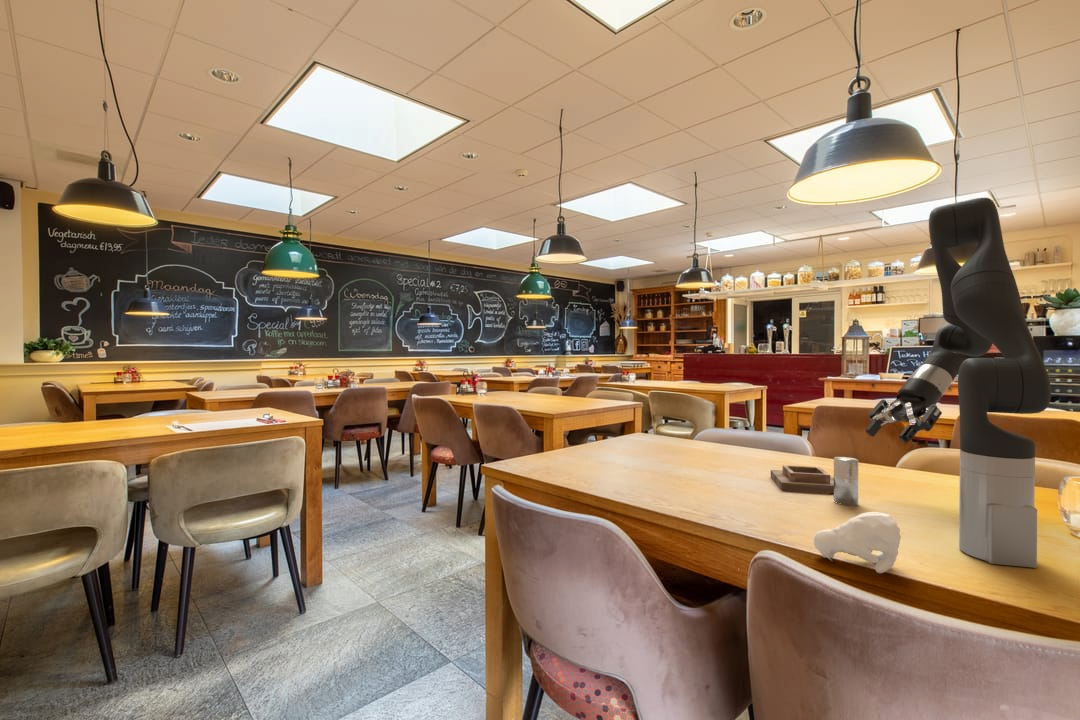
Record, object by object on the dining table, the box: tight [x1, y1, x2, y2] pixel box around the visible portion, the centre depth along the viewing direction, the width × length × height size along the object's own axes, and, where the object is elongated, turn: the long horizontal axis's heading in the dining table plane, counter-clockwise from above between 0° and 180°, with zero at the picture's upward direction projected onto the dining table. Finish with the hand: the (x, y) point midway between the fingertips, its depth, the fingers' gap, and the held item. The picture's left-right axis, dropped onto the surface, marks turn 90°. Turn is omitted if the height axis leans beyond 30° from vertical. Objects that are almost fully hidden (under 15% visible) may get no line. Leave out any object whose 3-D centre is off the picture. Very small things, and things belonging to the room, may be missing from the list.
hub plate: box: [770, 464, 834, 494], centre depth 126 cm, size 14×14×4 cm
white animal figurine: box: [813, 511, 902, 574], centre depth 79 cm, size 6×8×12 cm
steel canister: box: [833, 456, 859, 506], centre depth 112 cm, size 5×5×10 cm
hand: (885, 437), depth 114 cm, fingers open, 8 cm apart
